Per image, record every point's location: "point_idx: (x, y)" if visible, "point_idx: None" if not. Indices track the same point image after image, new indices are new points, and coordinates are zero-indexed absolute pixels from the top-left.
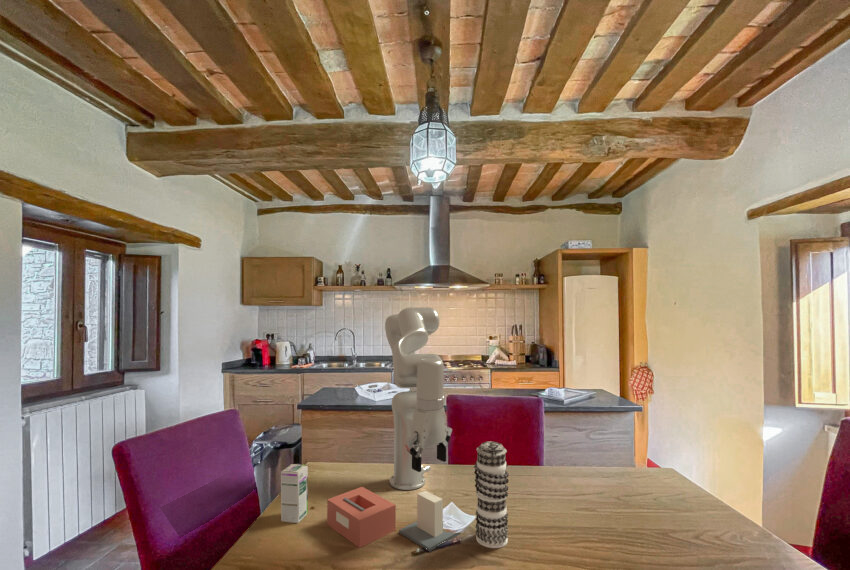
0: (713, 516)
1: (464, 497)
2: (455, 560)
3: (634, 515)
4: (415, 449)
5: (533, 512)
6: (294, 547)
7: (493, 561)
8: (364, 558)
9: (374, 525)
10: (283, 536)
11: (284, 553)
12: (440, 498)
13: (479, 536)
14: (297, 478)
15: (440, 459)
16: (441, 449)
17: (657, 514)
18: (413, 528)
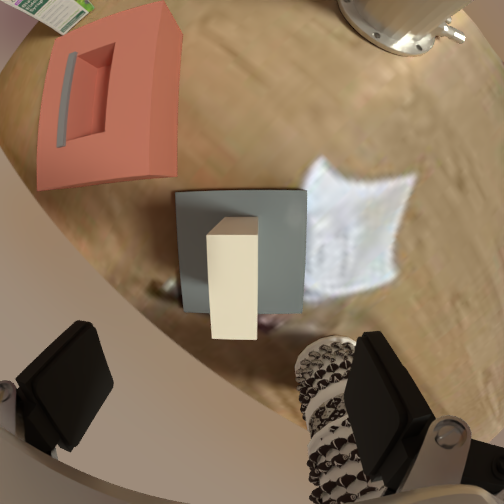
0: (492, 432)
1: (448, 189)
2: (209, 362)
3: (483, 410)
4: (17, 432)
5: (459, 343)
6: (21, 113)
7: (264, 403)
8: (71, 226)
9: (91, 183)
10: (30, 70)
11: (9, 123)
12: (254, 330)
13: (297, 370)
14: (7, 3)
15: (352, 373)
16: (373, 446)
17: (489, 416)
18: (210, 216)
